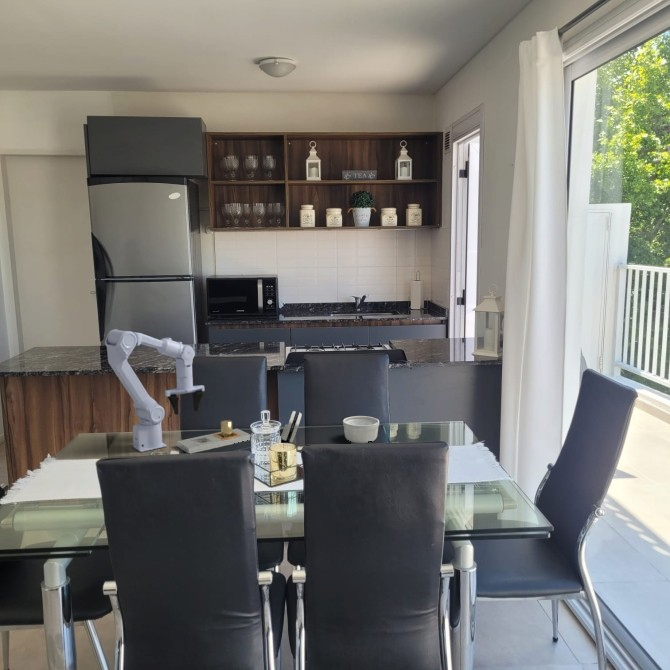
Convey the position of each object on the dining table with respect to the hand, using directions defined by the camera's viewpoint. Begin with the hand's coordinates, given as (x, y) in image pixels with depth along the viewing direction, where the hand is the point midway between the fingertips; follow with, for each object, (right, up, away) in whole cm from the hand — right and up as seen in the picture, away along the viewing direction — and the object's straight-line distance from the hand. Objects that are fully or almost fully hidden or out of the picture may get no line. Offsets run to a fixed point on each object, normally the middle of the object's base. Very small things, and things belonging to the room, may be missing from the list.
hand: (186, 412), depth 217 cm
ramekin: (+65, -9, -4) cm, 66 cm away
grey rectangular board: (+12, -10, -7) cm, 17 cm away
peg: (+16, -10, -4) cm, 19 cm away
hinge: (+39, -9, +1) cm, 40 cm away
